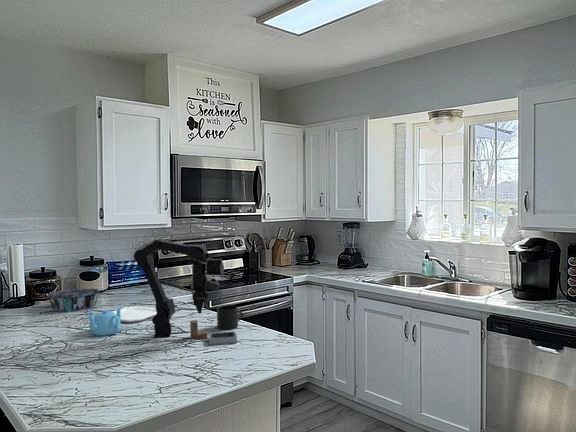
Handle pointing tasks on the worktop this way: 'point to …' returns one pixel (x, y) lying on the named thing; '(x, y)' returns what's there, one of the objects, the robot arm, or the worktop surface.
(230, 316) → the mug
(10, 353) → the worktop surface
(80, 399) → the worktop surface
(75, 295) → the decorative bowl
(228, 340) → the grey rectangular tray
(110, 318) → the teapot
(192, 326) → the tan toy chair
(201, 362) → the worktop surface
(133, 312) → the plate
